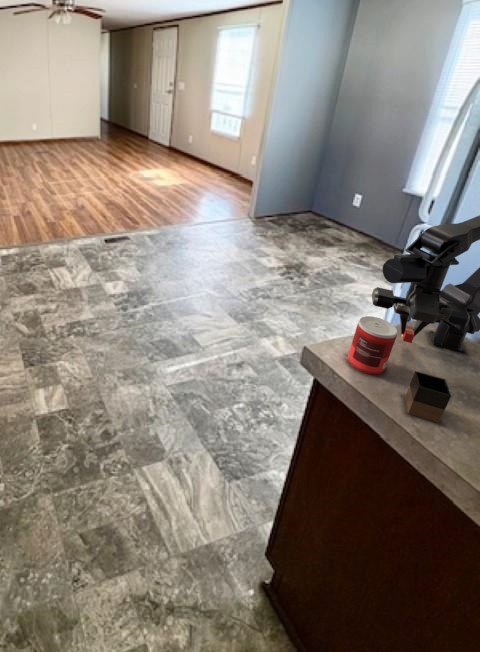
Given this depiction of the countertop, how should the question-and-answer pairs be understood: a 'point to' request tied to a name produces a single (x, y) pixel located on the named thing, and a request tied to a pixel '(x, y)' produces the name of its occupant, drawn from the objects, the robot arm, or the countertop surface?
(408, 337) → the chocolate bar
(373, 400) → the countertop surface
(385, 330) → the canned food
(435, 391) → the open brown box
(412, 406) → the dark brown cube
